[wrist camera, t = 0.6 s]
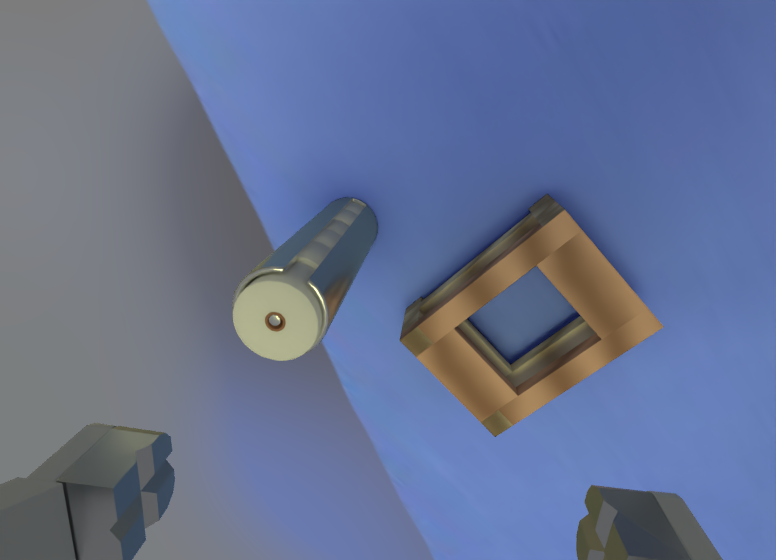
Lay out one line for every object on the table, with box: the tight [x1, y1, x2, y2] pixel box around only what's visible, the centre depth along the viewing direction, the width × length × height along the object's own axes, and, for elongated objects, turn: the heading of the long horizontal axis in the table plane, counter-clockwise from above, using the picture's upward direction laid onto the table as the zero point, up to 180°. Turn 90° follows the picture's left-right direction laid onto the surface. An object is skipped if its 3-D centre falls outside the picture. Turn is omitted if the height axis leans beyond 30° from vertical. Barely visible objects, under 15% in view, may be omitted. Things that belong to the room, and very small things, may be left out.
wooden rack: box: [400, 194, 663, 437], centre depth 51 cm, size 20×15×8 cm
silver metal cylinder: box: [232, 197, 378, 361], centre depth 42 cm, size 6×6×25 cm
